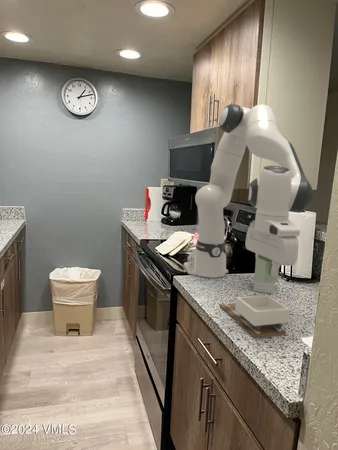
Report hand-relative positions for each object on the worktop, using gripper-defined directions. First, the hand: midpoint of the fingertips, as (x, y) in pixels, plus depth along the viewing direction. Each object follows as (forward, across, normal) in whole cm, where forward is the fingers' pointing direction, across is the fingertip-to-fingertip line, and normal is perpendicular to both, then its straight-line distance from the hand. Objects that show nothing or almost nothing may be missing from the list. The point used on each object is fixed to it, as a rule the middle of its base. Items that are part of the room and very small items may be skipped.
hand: (266, 272), depth 99 cm
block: (+2, 0, 0) cm, 2 cm away
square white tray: (+15, 0, 0) cm, 15 cm away
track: (+17, -6, 0) cm, 18 cm away
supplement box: (+17, -29, +20) cm, 39 cm away
